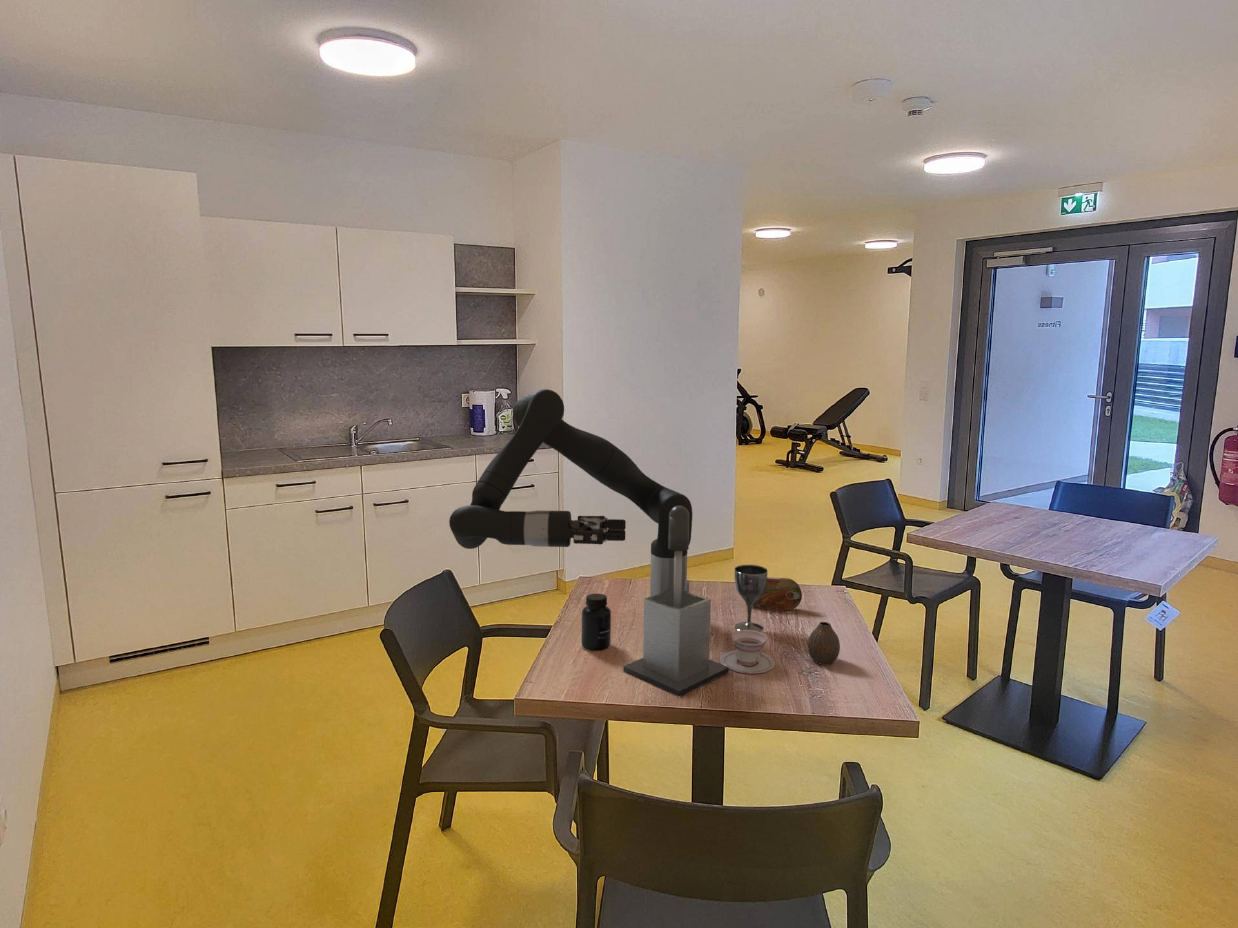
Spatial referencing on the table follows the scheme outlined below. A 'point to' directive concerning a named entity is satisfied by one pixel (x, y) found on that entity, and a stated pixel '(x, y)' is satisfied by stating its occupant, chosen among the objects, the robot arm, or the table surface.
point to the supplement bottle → (596, 623)
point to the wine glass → (750, 590)
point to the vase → (823, 644)
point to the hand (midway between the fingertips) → (625, 529)
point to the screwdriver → (678, 545)
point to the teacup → (748, 653)
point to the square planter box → (676, 644)
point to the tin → (779, 595)
